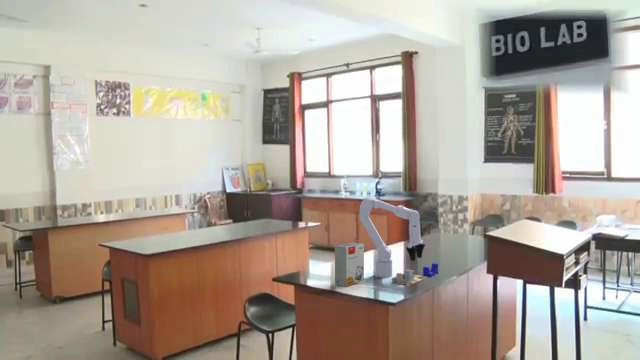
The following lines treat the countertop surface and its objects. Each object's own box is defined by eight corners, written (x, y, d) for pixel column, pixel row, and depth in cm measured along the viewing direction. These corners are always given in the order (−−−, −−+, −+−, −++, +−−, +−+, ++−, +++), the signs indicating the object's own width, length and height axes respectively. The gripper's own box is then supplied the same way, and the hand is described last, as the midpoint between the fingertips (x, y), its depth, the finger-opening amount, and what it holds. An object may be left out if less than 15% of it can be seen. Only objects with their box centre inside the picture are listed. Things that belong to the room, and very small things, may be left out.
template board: (407, 287, 245) (407, 275, 245) (390, 284, 252) (390, 273, 251) (428, 278, 262) (428, 267, 262) (411, 276, 269) (411, 265, 268)
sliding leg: (412, 281, 254) (412, 271, 253) (404, 279, 256) (404, 270, 256) (415, 280, 256) (415, 270, 256) (407, 278, 259) (407, 269, 259)
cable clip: (430, 279, 262) (430, 268, 262) (423, 278, 265) (423, 266, 264) (440, 274, 271) (440, 263, 271) (433, 273, 274) (433, 262, 274)
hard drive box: (346, 287, 248) (345, 247, 247) (334, 285, 253) (333, 246, 252) (364, 281, 260) (364, 243, 259) (353, 279, 265) (352, 241, 264)
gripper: (415, 236, 255) (417, 262, 255) (427, 231, 266) (429, 256, 267) (403, 235, 259) (404, 261, 260) (415, 231, 271) (417, 256, 271)
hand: (416, 259), depth 264 cm, fingers open, 7 cm apart
